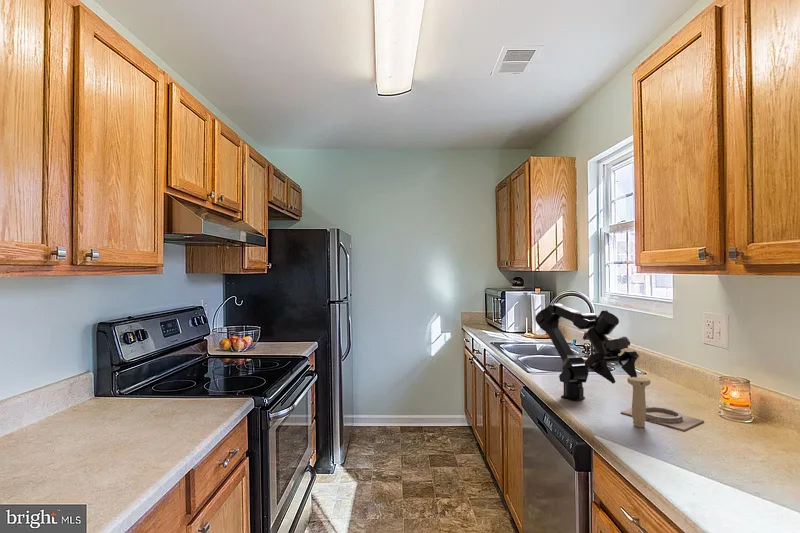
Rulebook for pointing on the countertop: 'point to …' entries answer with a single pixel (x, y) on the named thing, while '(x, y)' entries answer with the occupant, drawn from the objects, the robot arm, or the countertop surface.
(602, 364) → the robot arm
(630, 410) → the socket board
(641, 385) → the handle
